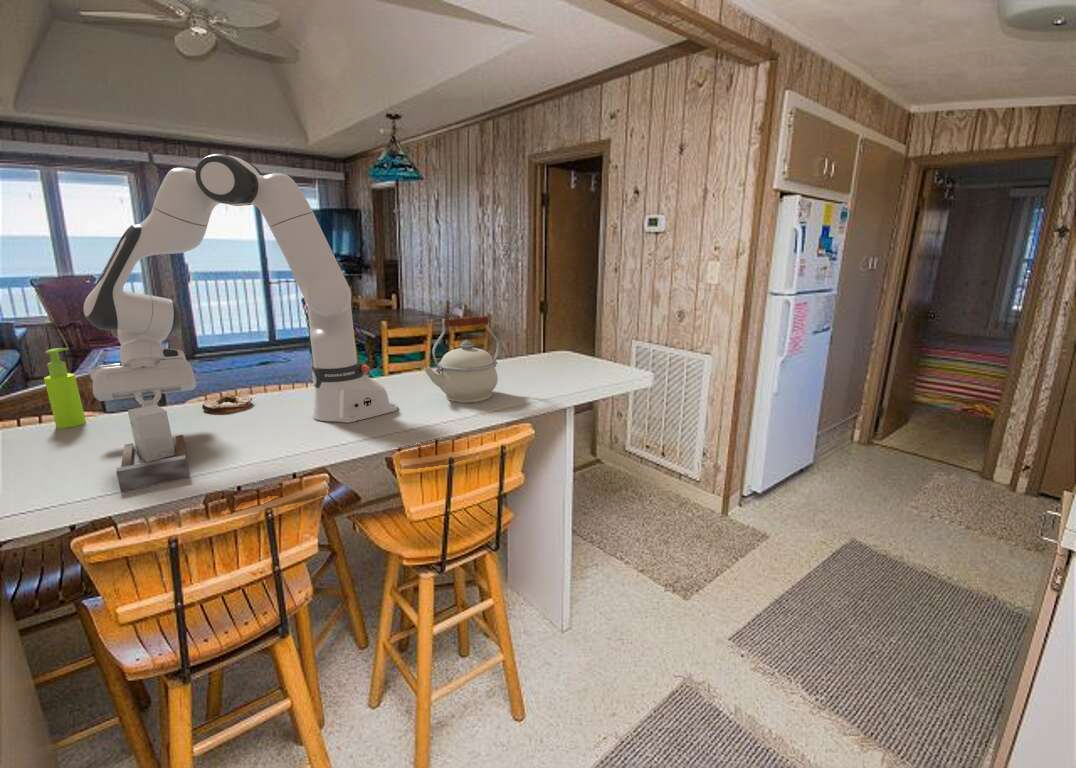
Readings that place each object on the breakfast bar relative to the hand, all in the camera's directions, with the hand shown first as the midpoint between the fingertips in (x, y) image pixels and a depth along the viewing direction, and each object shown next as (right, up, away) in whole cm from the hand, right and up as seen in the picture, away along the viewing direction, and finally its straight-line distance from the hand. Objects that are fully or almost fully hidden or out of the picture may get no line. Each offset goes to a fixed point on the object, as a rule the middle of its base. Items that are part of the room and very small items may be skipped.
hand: (150, 408), depth 124 cm
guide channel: (+11, -11, -13) cm, 20 cm away
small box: (+8, -10, -8) cm, 15 cm away
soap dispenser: (-29, -5, +12) cm, 32 cm away
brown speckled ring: (+3, -2, +26) cm, 26 cm away
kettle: (+71, +2, +36) cm, 79 cm away
